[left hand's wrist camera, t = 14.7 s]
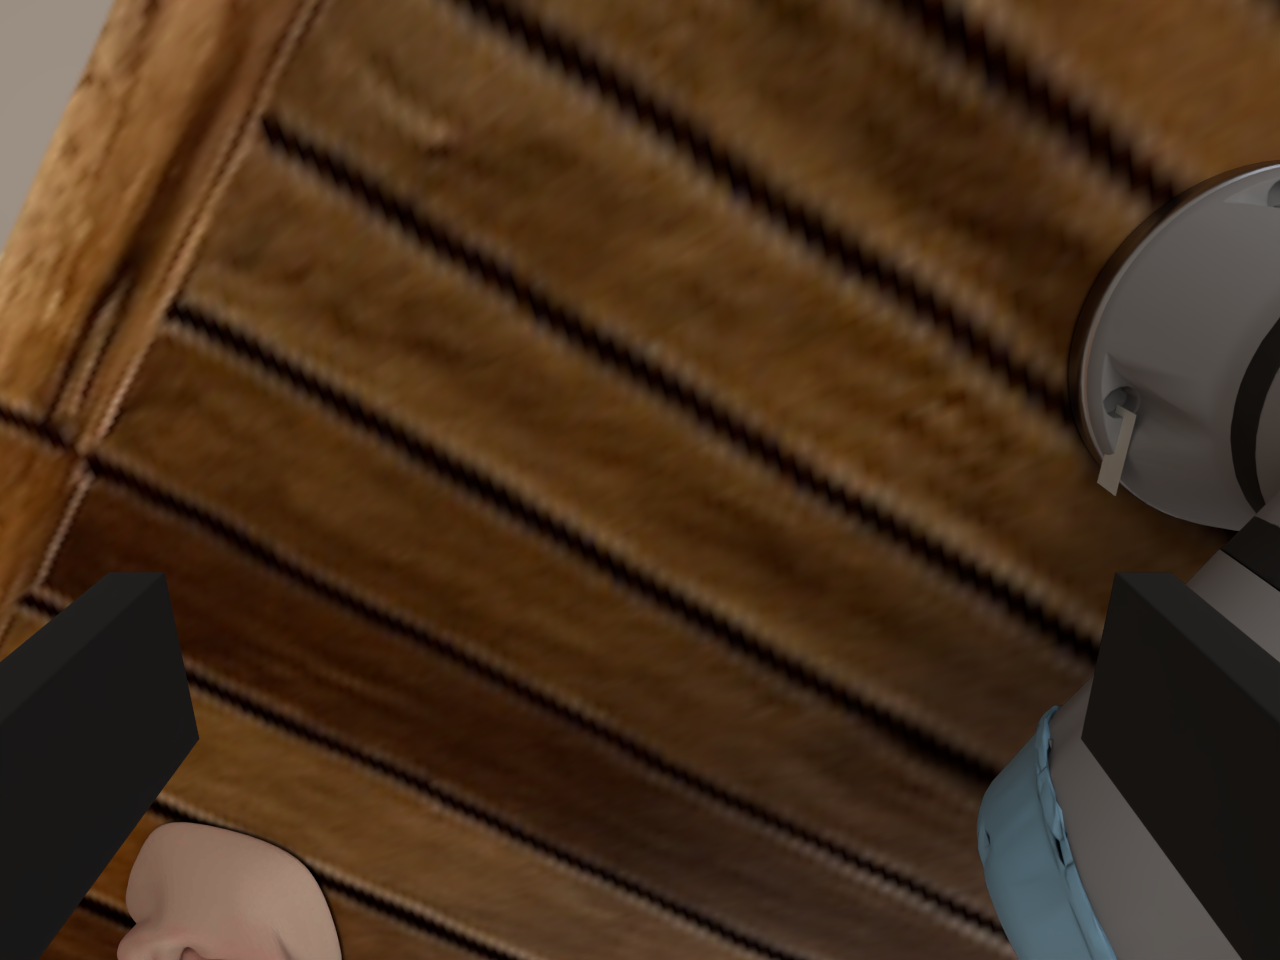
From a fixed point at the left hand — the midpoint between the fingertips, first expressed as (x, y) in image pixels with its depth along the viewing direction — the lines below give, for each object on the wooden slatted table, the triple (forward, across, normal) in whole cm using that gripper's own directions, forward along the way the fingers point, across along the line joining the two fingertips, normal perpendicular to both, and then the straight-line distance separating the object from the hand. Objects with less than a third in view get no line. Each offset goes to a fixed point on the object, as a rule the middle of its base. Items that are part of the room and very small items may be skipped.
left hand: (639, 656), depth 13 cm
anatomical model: (+27, -22, -34) cm, 49 cm away
